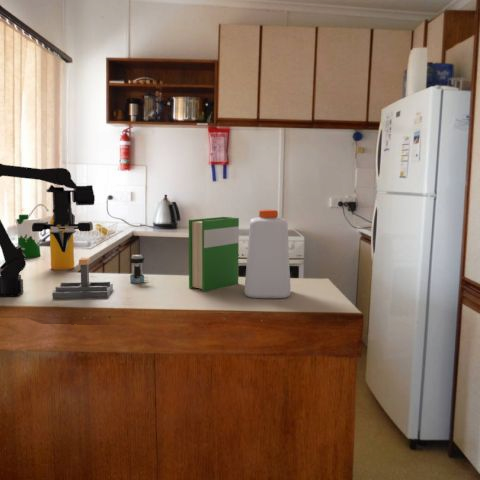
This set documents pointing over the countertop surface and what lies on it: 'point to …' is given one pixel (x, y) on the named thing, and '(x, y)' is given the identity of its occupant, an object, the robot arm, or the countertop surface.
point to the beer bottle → (61, 253)
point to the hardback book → (213, 252)
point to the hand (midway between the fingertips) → (63, 251)
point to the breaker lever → (84, 271)
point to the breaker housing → (82, 290)
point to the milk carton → (28, 236)
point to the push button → (137, 269)
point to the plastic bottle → (268, 257)
